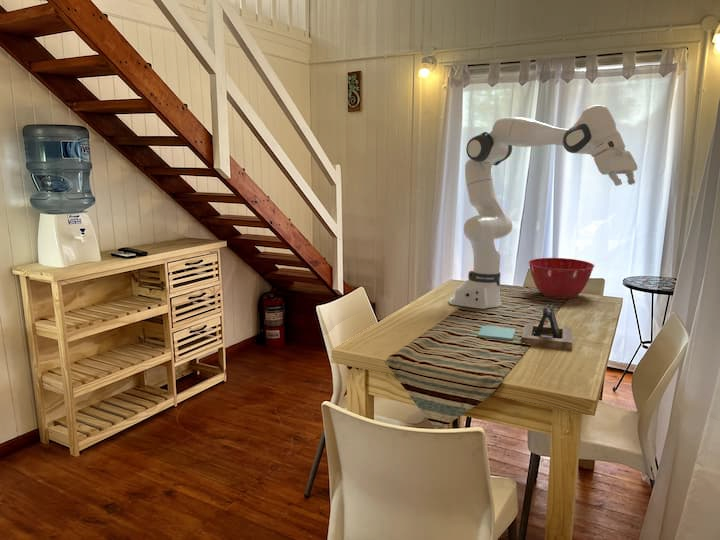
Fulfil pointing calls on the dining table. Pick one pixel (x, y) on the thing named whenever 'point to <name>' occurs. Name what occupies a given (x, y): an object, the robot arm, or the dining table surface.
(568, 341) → the walnut holder
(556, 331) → the dark gray a-frame stand
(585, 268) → the mixing bowl
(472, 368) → the dining table surface
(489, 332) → the teal mat
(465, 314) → the dining table surface
